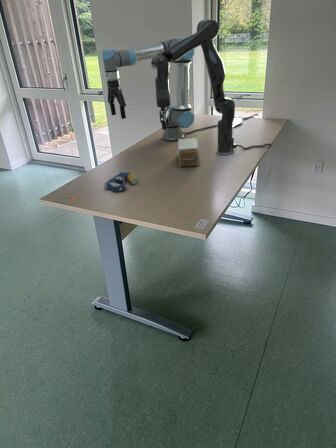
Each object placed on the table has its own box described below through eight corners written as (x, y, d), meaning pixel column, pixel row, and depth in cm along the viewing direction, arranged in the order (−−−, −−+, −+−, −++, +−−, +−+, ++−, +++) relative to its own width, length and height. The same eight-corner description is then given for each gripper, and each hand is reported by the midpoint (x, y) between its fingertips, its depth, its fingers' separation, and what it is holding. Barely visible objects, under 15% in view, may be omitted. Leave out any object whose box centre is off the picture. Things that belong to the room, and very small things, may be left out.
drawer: (198, 168, 191) (197, 153, 187) (180, 170, 192) (179, 155, 187) (196, 155, 211) (196, 141, 206) (180, 156, 211) (179, 142, 207)
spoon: (235, 135, 247) (235, 132, 245) (221, 135, 250) (220, 132, 249) (243, 119, 273) (243, 117, 272) (230, 119, 276) (230, 117, 275)
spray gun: (144, 178, 188) (122, 175, 194) (143, 171, 185) (120, 168, 192) (124, 194, 172) (101, 191, 179) (123, 187, 170) (99, 184, 176)
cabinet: (198, 165, 198) (198, 147, 193) (179, 166, 199) (178, 148, 193) (197, 154, 214) (196, 137, 208) (179, 156, 215) (178, 139, 209)
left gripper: (98, 78, 202) (104, 114, 213) (116, 82, 184) (122, 121, 195) (109, 77, 205) (115, 112, 216) (128, 80, 187) (133, 118, 198)
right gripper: (167, 99, 172) (170, 130, 180) (172, 93, 184) (174, 123, 192) (153, 100, 173) (156, 131, 182) (159, 94, 185) (161, 124, 194)
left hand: (118, 116), depth 206 cm, fingers open, 13 cm apart
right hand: (165, 127), depth 187 cm, fingers open, 8 cm apart
